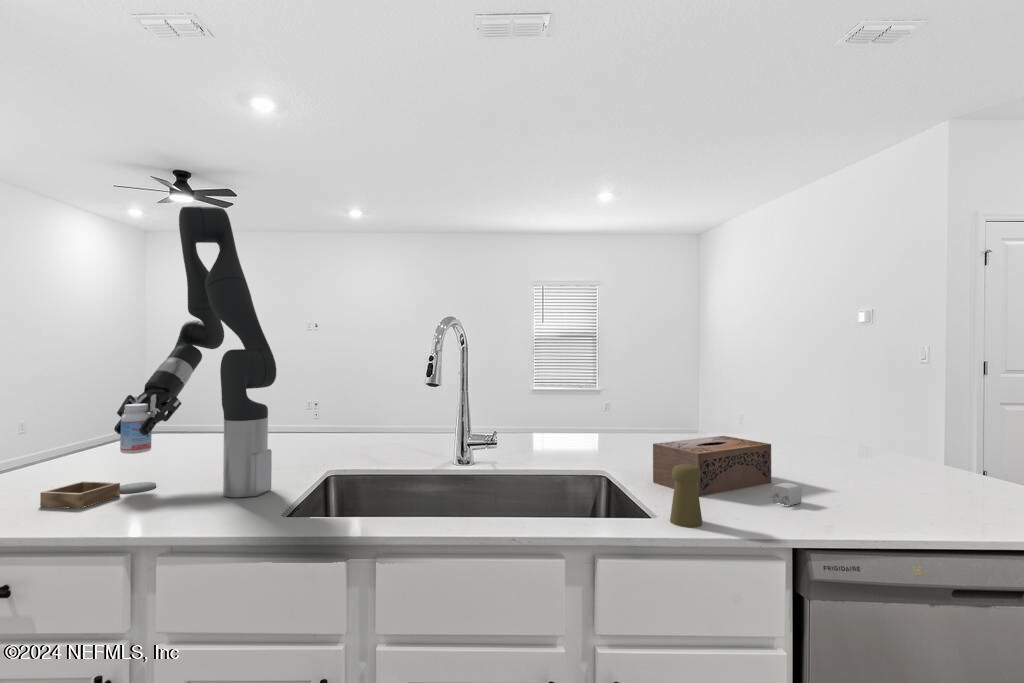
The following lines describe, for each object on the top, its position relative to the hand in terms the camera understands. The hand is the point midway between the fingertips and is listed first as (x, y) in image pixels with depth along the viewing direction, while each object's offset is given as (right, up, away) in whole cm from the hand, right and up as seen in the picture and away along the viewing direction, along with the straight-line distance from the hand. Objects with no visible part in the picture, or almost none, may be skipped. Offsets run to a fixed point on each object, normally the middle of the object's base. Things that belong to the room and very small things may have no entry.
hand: (130, 432), depth 127 cm
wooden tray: (-4, -14, -9) cm, 17 cm away
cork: (+124, -14, -22) cm, 126 cm away
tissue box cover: (+140, -14, +8) cm, 141 cm away
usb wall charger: (+149, -14, -10) cm, 150 cm away
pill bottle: (0, -5, +2) cm, 5 cm away
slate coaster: (0, -14, +1) cm, 14 cm away
